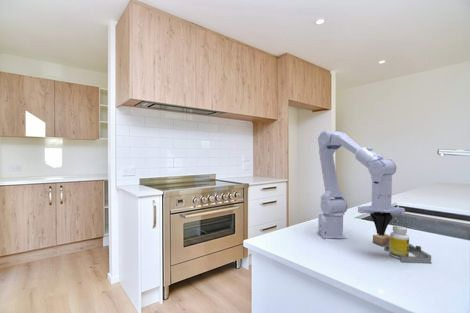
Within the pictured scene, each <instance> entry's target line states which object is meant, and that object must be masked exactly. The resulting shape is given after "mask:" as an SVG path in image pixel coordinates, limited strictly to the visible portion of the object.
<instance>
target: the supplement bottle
mask: <svg viewBox="0 0 470 313" xmlns="http://www.w3.org/2000/svg"><path fill="white" fill-rule="evenodd" d="M407 233H408V228H406V227H404V226H401V225H393V226H392V232H390V233H389V235H390V249H389V251H388V252H389V255H390V256H391V257H393V258H395V259H399V260H400V256H410V255H409V254H410V252H409V244H410V237H409V234H407Z"/></svg>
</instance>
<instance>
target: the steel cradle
mask: <svg viewBox="0 0 470 313" xmlns="http://www.w3.org/2000/svg"><path fill="white" fill-rule="evenodd" d="M389 249H390V245H384V246H383V250H384V251H386V252H389ZM410 253H411V254H412V255H411V256H410V255H409V256H400V259H399V262H401V263H410V264H412V263H415V264H416V263H417V264H432V255H431V254H429V253H427V252H426V251H423V250H422V246H420V245H415V246H414V245H413V244H411V243H409V254H410ZM413 255H414V256H413Z"/></svg>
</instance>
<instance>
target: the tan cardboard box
mask: <svg viewBox="0 0 470 313" xmlns="http://www.w3.org/2000/svg"><path fill="white" fill-rule="evenodd" d="M372 243H373V244H375V245H378V246H380V247H384V245H390V234H386V233H385V234H384V235H379V234H377V233H376V234H373V235H372Z"/></svg>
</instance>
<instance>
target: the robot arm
mask: <svg viewBox="0 0 470 313" xmlns="http://www.w3.org/2000/svg"><path fill="white" fill-rule="evenodd" d="M317 142H318V149H319V150H318V154H319V159H320V161H319V162H320V166H321V173H322V179H323V186H324V193H322V195H321V196H320V209H321V212H322V213H321V214H319V215H318V217H317V218H318V220H317V221H318V225H317V226H318V229H317V232H318V234H319V235H320V236H321V238H323V239H341V240H342V239H348V238H347V236H346V235H345V234H344V215H345V213H346V212H347V211H348V209H349V206H348V202H347V200H346V197H345V195H344V194H343V193H342V192H341V191H340V190H339V183H338V178H337V172H336V164H335V160H334V154H335V152H337V151H338V150H339V149H341V147H343V148H345V149H346V150H347V151H349V152H351V153H352V154H353V155H355V160H357V161H358V162H359V163H360V164H362V165H363V166H365V167H366V168H367V170H368V172H369V174H370V176H371V177H370V179H371V205H367V206H357V212H358V213H359V214H369V215H370V216H371V219H372V222H373V223H374V227H375V230H376V235H377V234H379V235H384V234H386V233H385V232H386V230H387V229H388V226H389V224H390V223H391V221H393V217H394V216H393V215H394V214H396V215H397V214H398V215H406V209H405V208H404V207H397V206H392V195H393V194H392V192H393V191H392V189H393V175H394V174H396V172H397V165H396V163H395V162H394V161H393V160H392V159H390V158H384V156H383V155H381V154H378V153H377V152H375V151H374V150H373V147H371V146H370V147H369V146H368V147H367V146H364V147H363V146H360V145H359V144H358V143H357V142H356V141H354V140H353V139H352V138H351V137H349V136H348V134H347V133H344V131H334V130H333V131H332V130H322V131H321V132H320V134H319V135H318V137H317Z"/></svg>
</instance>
